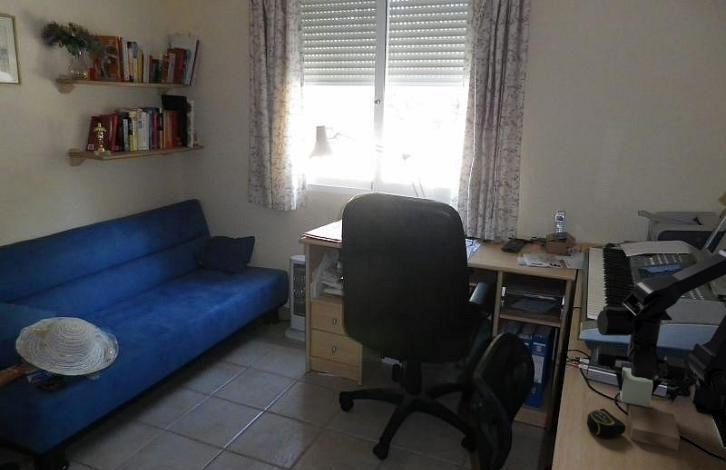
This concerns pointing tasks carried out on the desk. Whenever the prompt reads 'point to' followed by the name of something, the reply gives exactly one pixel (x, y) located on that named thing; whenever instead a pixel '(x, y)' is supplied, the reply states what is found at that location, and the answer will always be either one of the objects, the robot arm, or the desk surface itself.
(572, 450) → the desk surface
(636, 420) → the tan square block
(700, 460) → the desk surface
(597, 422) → the tape measure
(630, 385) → the sage block
